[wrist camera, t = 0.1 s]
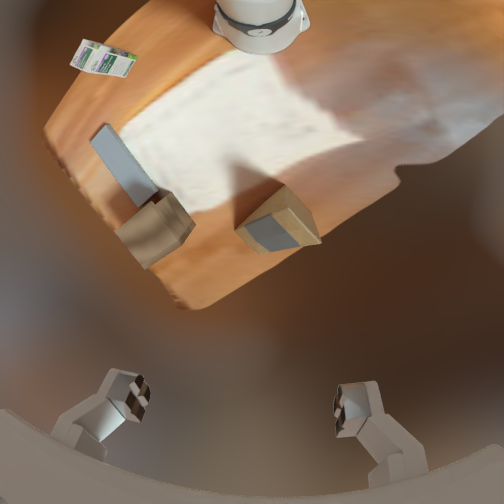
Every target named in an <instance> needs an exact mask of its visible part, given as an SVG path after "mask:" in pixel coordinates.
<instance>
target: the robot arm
mask: <svg viewBox="0 0 504 504" xmlns="http://www.w3.org/2000/svg"><path fill="white" fill-rule="evenodd" d="M216 2H217V4H215V7H214V9H215V10H216V13H215V17H214V22H213V31H214V32H215V33H216V34H218V35H220V36H223V37H225V38H227V39H228V40H229V41H230V42H231V43H232V44H233V45H234V46H235V47H236V48H238V49H240V50H242V51H244V52H247V53H250V54H257V55H266V54H272V53H276V52H278V51H281V50H283V49H285V48H286V47H287V46H289V45H290V44H291V43H292V42H293V41H294V39H295V38H296V37H297V35H298V34H299V33H301V32H303V31H305V30H307V29H308V28H309V27H310V21H309V19H308V16H307V13H306V11H305V8H304V5H303V3H302V0H216ZM303 19H304V20H303ZM337 390H338V394H336V395H335V399H334V415H335V417H337V421H336V424H335V428H336V437H337V438H339V437H350V436H356V437H357V439H358V440H359V441H360V442H361V443H362V445H363V446H364V447H365V448H366V450H367V451H368V452H369V453H370V454H371V456H372V457H373V458H374V459H375V460H376V461H377V463H378V464H379V465H378V466H377V467H376V468H374V469H373V470H372V471H371V472H370V473H369V474H368V478H369V489H365V490H360V491H354V492H347V493H340V494H332V495H322V496H308V497H253V496H239V495H229V494H221V493H213V492H207V491H200V490H195V489H190V488H185V487H180V486H175V485H171V484H168V483H164V482H159V481H156V480H152V479H149V478H145V477H142V476H139V475H136V474H133V473H130V472H127V471H124V470H121V469H119V468H116V467H113V466H111V465H108V464H106V463H103V462H104V459H105V456H106V453H107V448H106V447H104V446H103V445H102V444H101V443H100V441H102V440H103V439H104V438H105V437H106V436H107V435H109V434H110V433H111V432H112V431H113V430H115V429H116V428H117V427H118V426H119V425H120V424H121V423H122V422H124V421H125V419H128V420H131V421H135V422H140V423H141V422H142V419H143V416H144V414H145V409H144V406H146V405H147V404H148V403H149V400H150V395H151V391H150V387H149V386H148V385H147V384H146V383H145V382H144V377H143V376H142V374H136V373H132V372H127V371H123V370H118V369H114V368H112V369H111V370H109V372H108V374H107V376H106V378H105V379H104V381H103V383H102V385H101V387H100V389H99V391H98V393H97V395H95V394H93V395H92V396H90V397H89V398H87V399H86V400H84V401H83V402H81V403H80V404H78V405H76V406H75V407H73V408H72V409H70V410H68V411H67V412H65V413H64V414H62V415H60V417H59V419H58V421H57V423H56V425H55V427H54V429H53V431H52V433H51V435H50V436H49V435H47V434H45V433H44V432H42V431H40V430H39V429H37V428H35V427H34V426H32V425H31V424H29V423H28V422H26V421H25V420H23V419H22V418H20V417H19V416H17V415H16V414H15V413H13V412H12V411H10V410H8V409H3V410H0V504H504V449H503V448H502V447H500V446H498V445H496V444H493V445H490V446H488V447H486V448H484V449H482V450H480V451H478V452H476V453H474V454H472V455H470V456H468V457H466V458H464V459H462V460H459V461H457V462H454V463H452V464H450V465H447V466H445V467H442V468H440V469H437V470H434V471H432V472H429V471H428V466H427V461H426V457H425V452H424V448H423V445H422V444H421V443H420V442H418V441H417V440H416V439H415V438H414V437H413V436H412V435H411V434H410V433H408V432H407V431H406V430H405V429H404V428H403V427H402V426H401V425H400V424H399V423H397V422H396V421H395V420H394V419H393V418H392V417H391V416H390V415H389V414H385V413H384V409H383V405H382V400H381V396H380V392H379V389H378V385H377V383H376V381H370V382H360V383H351V384H343V385H339V386H338V389H337Z"/></svg>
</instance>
